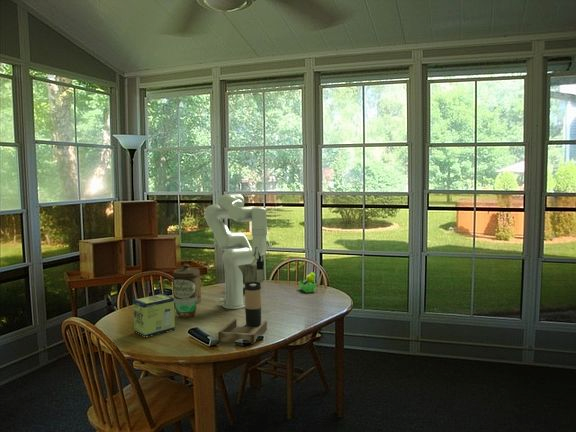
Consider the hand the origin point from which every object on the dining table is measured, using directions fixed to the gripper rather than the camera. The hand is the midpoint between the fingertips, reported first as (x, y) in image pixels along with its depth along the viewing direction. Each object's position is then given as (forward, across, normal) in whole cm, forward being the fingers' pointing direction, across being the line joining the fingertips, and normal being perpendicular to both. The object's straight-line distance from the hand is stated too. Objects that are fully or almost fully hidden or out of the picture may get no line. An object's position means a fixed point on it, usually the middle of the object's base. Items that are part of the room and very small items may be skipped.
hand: (260, 269), depth 237 cm
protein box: (+25, +30, -42) cm, 57 cm away
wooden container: (+24, -20, -50) cm, 59 cm away
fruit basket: (+25, -59, +12) cm, 65 cm away
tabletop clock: (+24, -55, -24) cm, 65 cm away
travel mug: (+25, +12, 0) cm, 27 cm away
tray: (+25, +27, 0) cm, 36 cm away
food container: (+25, +7, -38) cm, 45 cm away
